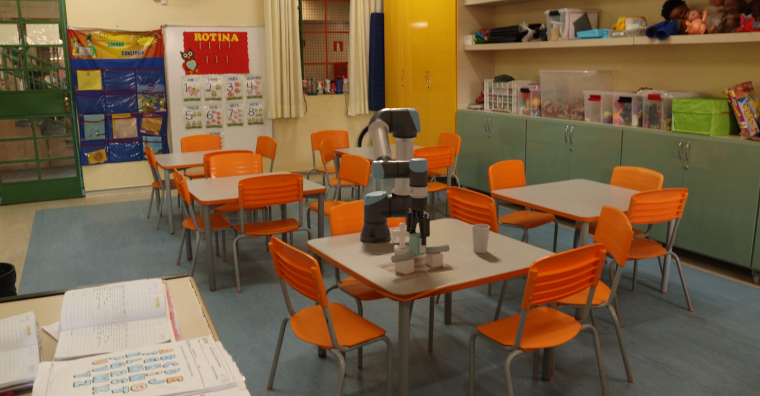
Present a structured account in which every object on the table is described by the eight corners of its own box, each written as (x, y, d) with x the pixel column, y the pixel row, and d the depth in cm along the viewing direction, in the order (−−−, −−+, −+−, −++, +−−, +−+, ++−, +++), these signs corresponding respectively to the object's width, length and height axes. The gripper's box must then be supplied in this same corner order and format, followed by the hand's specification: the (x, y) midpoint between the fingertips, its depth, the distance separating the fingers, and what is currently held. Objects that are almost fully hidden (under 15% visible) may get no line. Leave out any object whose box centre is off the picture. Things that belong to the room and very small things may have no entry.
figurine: (392, 252, 285) (392, 220, 282) (412, 253, 285) (413, 221, 281) (391, 257, 278) (391, 224, 275) (412, 257, 277) (412, 225, 274)
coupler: (408, 252, 260) (409, 234, 259) (418, 250, 263) (418, 232, 262) (416, 255, 256) (417, 237, 255) (426, 253, 259) (426, 235, 258)
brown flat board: (375, 267, 264) (375, 265, 264) (423, 257, 278) (423, 254, 278) (407, 281, 246) (407, 279, 246) (456, 269, 261) (456, 267, 260)
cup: (468, 251, 287) (468, 226, 284) (477, 247, 293) (478, 223, 290) (482, 254, 282) (483, 229, 279) (492, 251, 287) (493, 225, 285)
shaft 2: (443, 260, 270) (444, 242, 268) (450, 264, 265) (451, 246, 263) (423, 263, 266) (423, 245, 264) (430, 267, 260) (430, 249, 259)
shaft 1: (399, 276, 249) (399, 257, 247) (388, 273, 253) (388, 254, 252) (415, 270, 256) (415, 252, 254) (404, 267, 260) (405, 249, 259)
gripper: (397, 193, 260) (397, 247, 265) (425, 200, 246) (424, 257, 250) (411, 191, 265) (411, 244, 269) (439, 198, 250) (438, 254, 254)
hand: (417, 250), depth 260 cm, fingers closed on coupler, 5 cm apart
